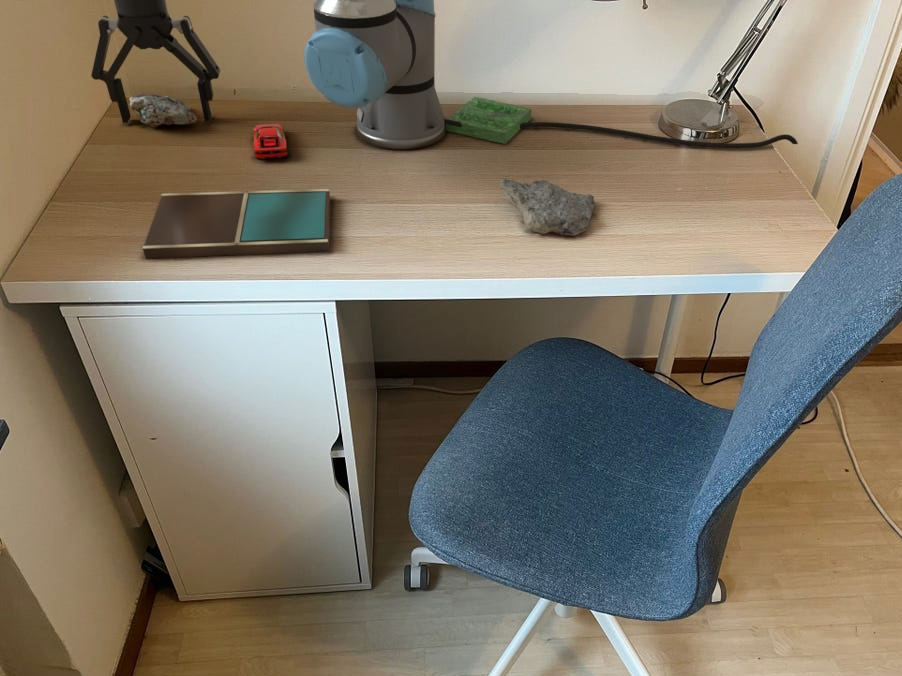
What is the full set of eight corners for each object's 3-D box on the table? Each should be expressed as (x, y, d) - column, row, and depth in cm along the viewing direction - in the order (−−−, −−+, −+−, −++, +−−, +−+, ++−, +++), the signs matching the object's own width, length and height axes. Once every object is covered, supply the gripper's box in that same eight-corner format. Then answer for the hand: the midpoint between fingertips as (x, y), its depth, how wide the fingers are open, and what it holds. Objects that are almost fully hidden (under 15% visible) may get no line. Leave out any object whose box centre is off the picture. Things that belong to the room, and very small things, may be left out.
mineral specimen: (144, 141, 129) (135, 105, 125) (125, 115, 136) (116, 81, 132) (202, 129, 133) (195, 95, 129) (181, 105, 140) (173, 71, 136)
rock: (578, 221, 106) (484, 184, 111) (570, 249, 108) (479, 211, 113) (613, 196, 116) (526, 163, 121) (606, 222, 119) (521, 189, 123)
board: (330, 198, 117) (329, 188, 115) (328, 251, 106) (327, 241, 104) (164, 203, 114) (161, 193, 113) (145, 258, 103) (142, 248, 102)
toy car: (253, 132, 133) (250, 114, 130) (284, 130, 134) (282, 112, 132) (255, 163, 124) (252, 144, 122) (288, 161, 125) (286, 142, 123)
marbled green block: (530, 119, 141) (531, 105, 139) (505, 144, 133) (505, 130, 131) (474, 107, 144) (475, 93, 143) (446, 130, 136) (446, 116, 134)
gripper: (221, -22, 124) (243, 109, 139) (57, -23, 121) (97, 111, 136) (216, -8, 119) (239, 126, 133) (44, -9, 116) (87, 129, 130)
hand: (167, 119), depth 134 cm, fingers open, 13 cm apart
